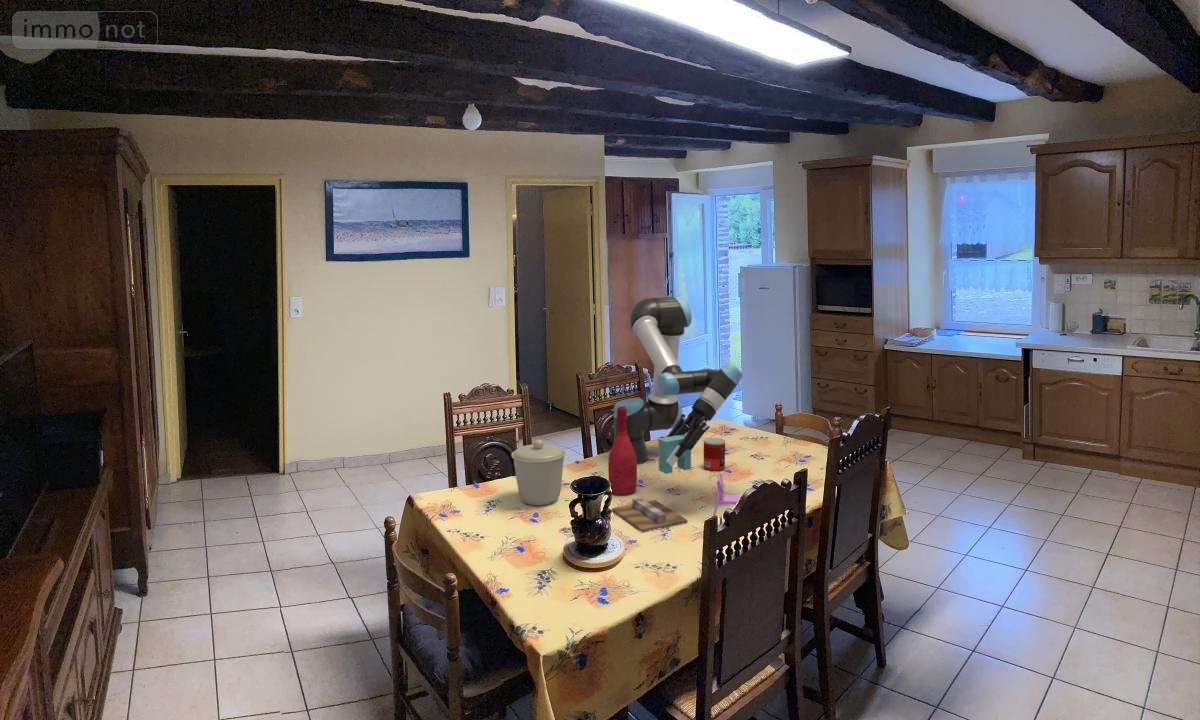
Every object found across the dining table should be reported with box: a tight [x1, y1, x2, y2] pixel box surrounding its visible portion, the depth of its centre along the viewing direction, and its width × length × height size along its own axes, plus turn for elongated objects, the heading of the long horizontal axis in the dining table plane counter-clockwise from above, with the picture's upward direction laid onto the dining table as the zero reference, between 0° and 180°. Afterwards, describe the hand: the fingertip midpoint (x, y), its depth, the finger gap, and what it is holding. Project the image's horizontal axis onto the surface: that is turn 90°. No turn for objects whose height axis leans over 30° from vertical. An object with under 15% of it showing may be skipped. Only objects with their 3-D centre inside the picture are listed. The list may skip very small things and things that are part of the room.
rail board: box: [611, 496, 688, 533], centre depth 248 cm, size 20×16×4 cm
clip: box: [658, 434, 692, 475], centre depth 251 cm, size 9×4×10 cm, turn 117°
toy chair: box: [712, 472, 740, 517], centre depth 243 cm, size 8×9×15 cm
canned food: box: [703, 437, 726, 472], centre depth 294 cm, size 8×8×11 cm
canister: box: [510, 439, 567, 506], centre depth 262 cm, size 18×18×21 cm
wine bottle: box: [607, 407, 638, 496], centre depth 269 cm, size 10×10×30 cm
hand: (664, 461), depth 250 cm, fingers closed on clip, 4 cm apart
